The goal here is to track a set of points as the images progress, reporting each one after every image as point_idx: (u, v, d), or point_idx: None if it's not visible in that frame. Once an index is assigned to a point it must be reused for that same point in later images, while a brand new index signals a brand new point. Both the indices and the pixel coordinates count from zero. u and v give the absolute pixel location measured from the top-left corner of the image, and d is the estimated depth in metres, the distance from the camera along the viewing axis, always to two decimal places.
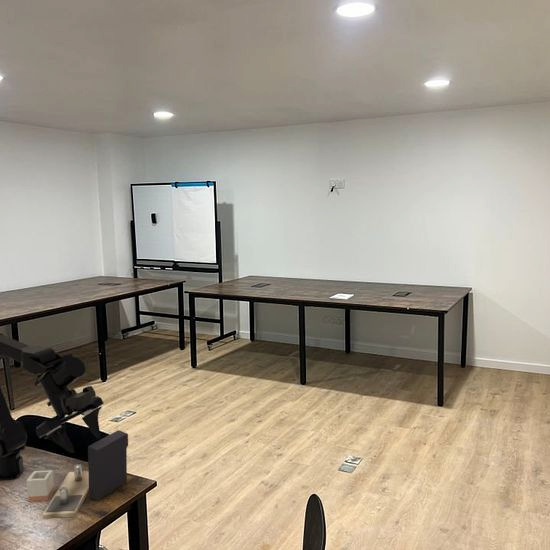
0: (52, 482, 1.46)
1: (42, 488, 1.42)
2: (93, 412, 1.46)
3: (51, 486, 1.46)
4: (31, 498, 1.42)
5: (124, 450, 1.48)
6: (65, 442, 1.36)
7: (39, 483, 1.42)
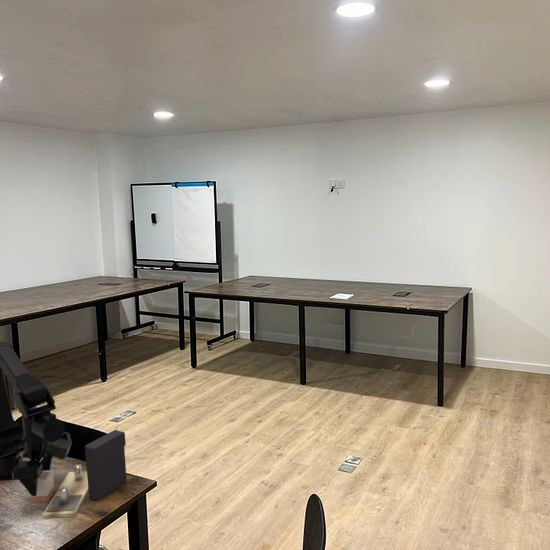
0: (52, 482, 1.46)
1: (42, 488, 1.42)
2: None
3: (51, 486, 1.46)
4: (31, 498, 1.42)
5: (122, 450, 1.49)
6: (34, 486, 1.39)
7: (39, 483, 1.42)
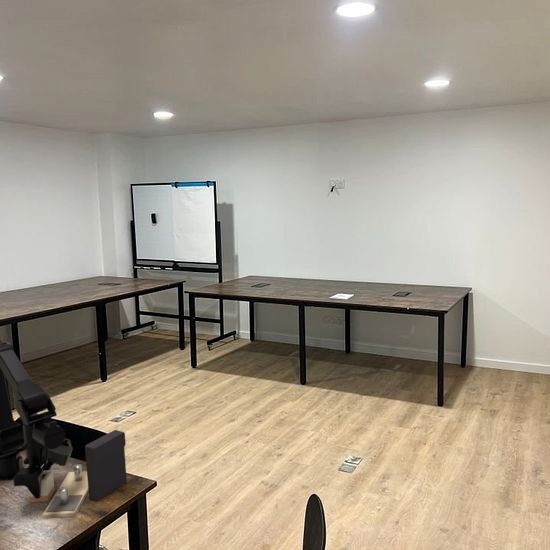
0: (52, 482, 1.46)
1: (42, 488, 1.42)
2: (51, 463, 1.47)
3: (51, 486, 1.46)
4: (31, 498, 1.42)
5: (122, 450, 1.49)
6: (37, 489, 1.41)
7: None
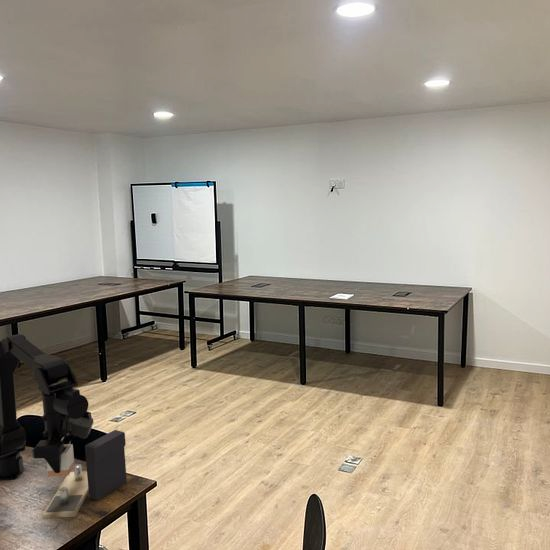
0: (72, 456, 1.39)
1: (62, 462, 1.35)
2: (71, 437, 1.40)
3: (71, 460, 1.39)
4: (51, 472, 1.35)
5: (122, 450, 1.49)
6: (57, 463, 1.34)
7: None
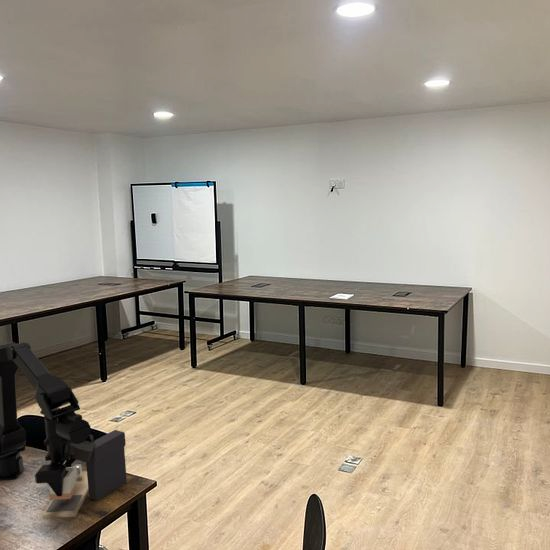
0: (74, 479, 1.40)
1: (64, 485, 1.36)
2: (73, 460, 1.41)
3: (73, 483, 1.40)
4: (53, 496, 1.36)
5: (122, 450, 1.49)
6: (60, 486, 1.35)
7: None
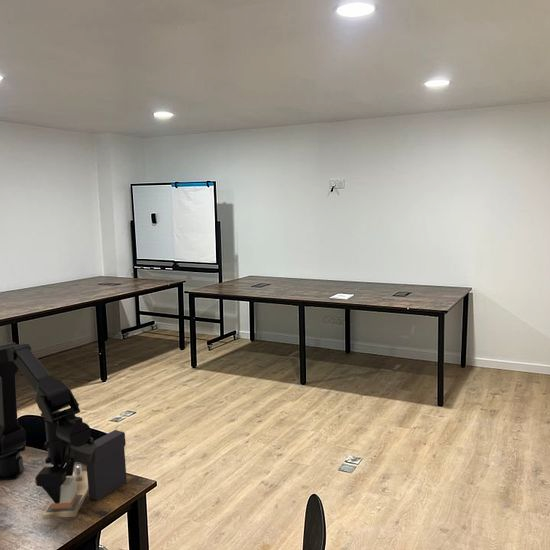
0: (75, 488, 1.41)
1: (65, 495, 1.36)
2: None
3: (74, 492, 1.40)
4: (54, 505, 1.37)
5: (122, 450, 1.49)
6: (57, 493, 1.33)
7: (62, 489, 1.36)
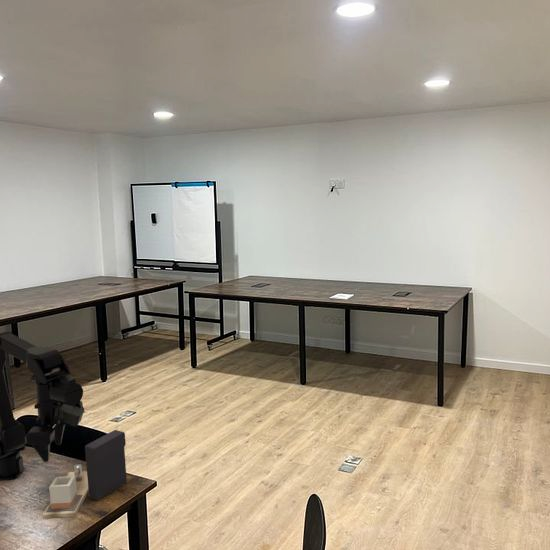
0: (75, 488, 1.41)
1: (65, 495, 1.36)
2: None
3: (74, 492, 1.40)
4: (54, 505, 1.37)
5: (122, 450, 1.49)
6: (46, 452, 1.39)
7: (62, 489, 1.36)
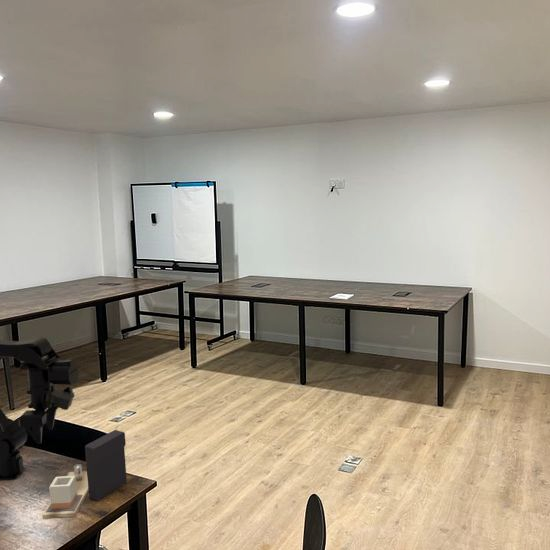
0: (75, 488, 1.41)
1: (65, 495, 1.36)
2: (56, 407, 1.58)
3: (74, 492, 1.40)
4: (54, 505, 1.37)
5: (122, 450, 1.49)
6: (39, 434, 1.48)
7: (62, 489, 1.36)
